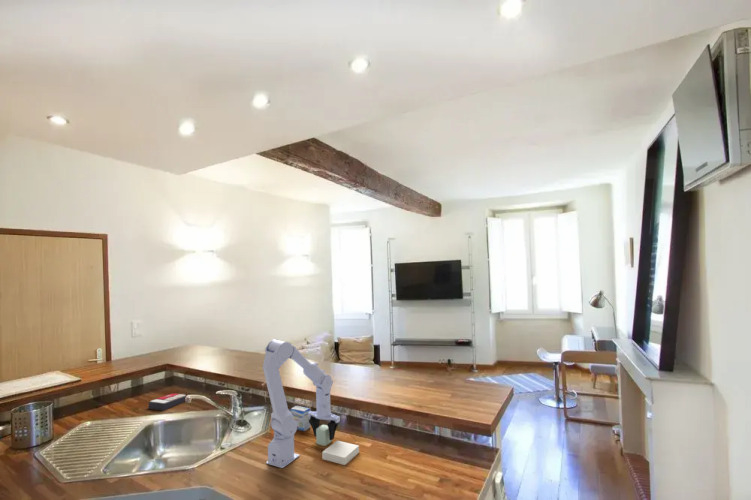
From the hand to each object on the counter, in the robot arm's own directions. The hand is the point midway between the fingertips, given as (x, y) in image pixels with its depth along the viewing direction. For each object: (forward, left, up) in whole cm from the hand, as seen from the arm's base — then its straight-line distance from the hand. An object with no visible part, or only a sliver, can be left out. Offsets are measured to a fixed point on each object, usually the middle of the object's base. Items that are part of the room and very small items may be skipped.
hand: (324, 437), depth 149 cm
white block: (-6, -12, -2) cm, 14 cm away
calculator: (+1, +104, -3) cm, 104 cm away
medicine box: (+7, +18, -2) cm, 19 cm away
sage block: (0, 0, -2) cm, 2 cm away
